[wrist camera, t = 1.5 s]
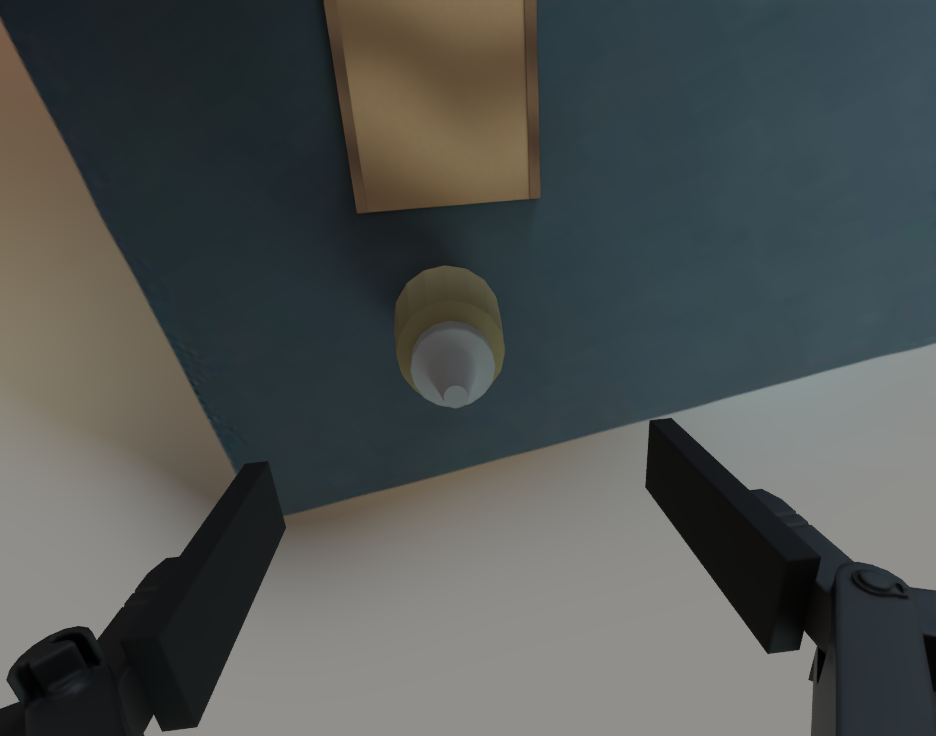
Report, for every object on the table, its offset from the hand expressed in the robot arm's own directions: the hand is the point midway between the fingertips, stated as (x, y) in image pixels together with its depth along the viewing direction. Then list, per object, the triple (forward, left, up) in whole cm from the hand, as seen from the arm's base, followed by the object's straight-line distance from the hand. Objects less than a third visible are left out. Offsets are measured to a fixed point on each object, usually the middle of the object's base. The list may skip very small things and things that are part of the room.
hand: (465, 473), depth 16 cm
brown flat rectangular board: (-18, +1, -24) cm, 30 cm away
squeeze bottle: (0, 0, -24) cm, 24 cm away
